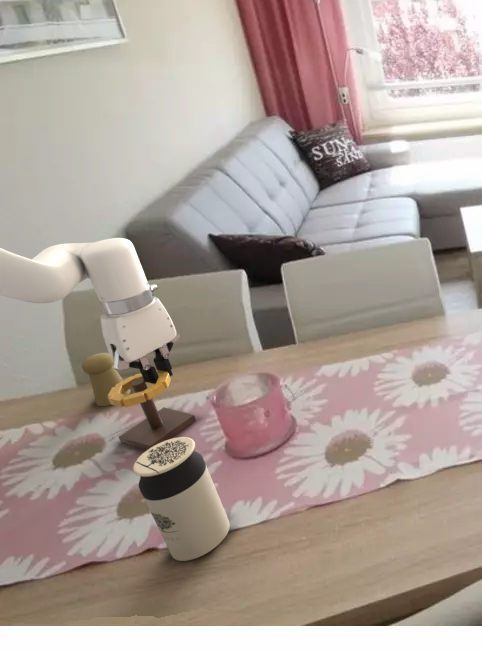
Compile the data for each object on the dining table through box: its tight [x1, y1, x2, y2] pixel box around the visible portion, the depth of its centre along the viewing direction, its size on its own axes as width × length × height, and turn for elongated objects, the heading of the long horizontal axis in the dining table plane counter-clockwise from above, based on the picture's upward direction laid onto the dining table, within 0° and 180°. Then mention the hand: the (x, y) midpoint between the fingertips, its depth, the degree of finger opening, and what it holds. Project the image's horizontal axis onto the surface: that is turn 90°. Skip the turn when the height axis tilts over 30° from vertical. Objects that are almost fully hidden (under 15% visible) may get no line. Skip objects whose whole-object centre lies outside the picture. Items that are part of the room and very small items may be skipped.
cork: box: [81, 352, 132, 407], centre depth 120 cm, size 6×6×11 cm
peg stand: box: [118, 379, 197, 451], centre depth 109 cm, size 9×9×12 cm
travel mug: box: [132, 436, 231, 562], centre depth 84 cm, size 8×8×18 cm
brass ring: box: [107, 369, 172, 408], centre depth 107 cm, size 9×9×2 cm
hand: (159, 378), depth 110 cm, fingers closed on brass ring, 1 cm apart
